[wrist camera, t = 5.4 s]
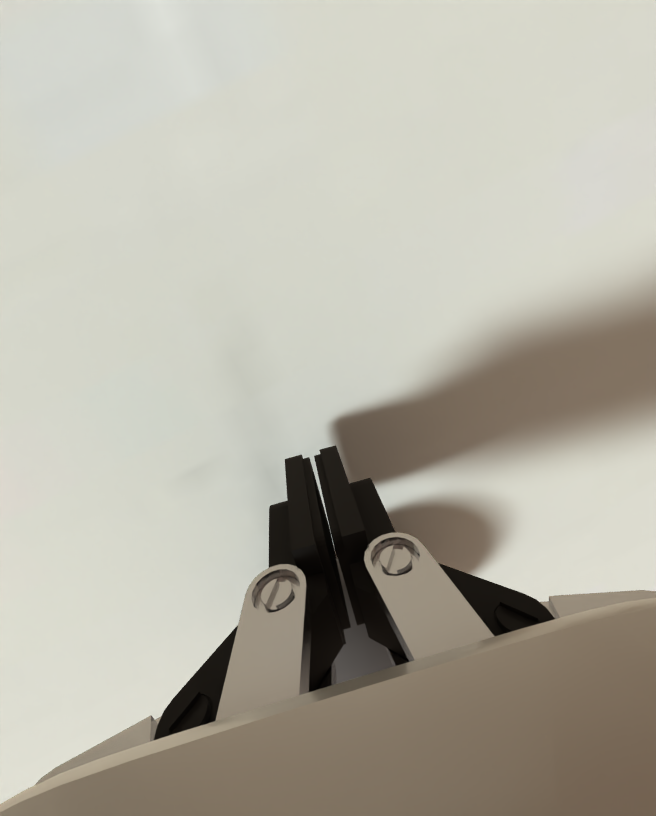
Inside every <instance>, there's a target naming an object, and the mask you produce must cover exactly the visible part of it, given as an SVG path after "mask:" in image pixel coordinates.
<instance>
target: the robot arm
mask: <svg viewBox="0 0 656 816" xmlns="http://www.w3.org/2000/svg"><path fill="white" fill-rule="evenodd" d="M320 453H321V454H319V455H316V456H314V457H315V462H316V466H317V471H318V475H319V480H320V485H321V489H322V494H323V498H324V503H325V507H326V512H327V516H328V521H329V525H328V521H327V518H326V514H325V511H324V507H323V504H322V500H321V497H320V493H319V490H318V486H317V483H316V479H315V476H314V472H313V469H312V465H311V462H310V459H309V457H308V458H305V459H303V457H302V455H299V456H295V457H291V458H288V459H285V469H286V483H287V498H288V501H285V502H281V503H278V504H274V505H271V506H270V508H269V568H268V569H266V570H264V571H262V572H261V573H260V574H259V575H258V576H257V577H255V578H254V580H253V581H252V582H251V584H250V585H249V587H248V589H247V592H246V594H245V599H244V603H243V607H242V611H241V615H240V620H239V624H238V626H237V627H236V628H235V629H234V630H233V631H232V632H231V634H230V635H229V636H228V637H227V638H226V639H225V640H224V641H223V643H222V644H221V645H220V646H219V647H218V648H217V649H216V651H215V652H214V653H213V654H212V655H211V656H210V657H209V659H208V660H207V661H206V662H205V663H204V664H203V665H202V667H201V668H200V669H199V670H198V671H197V672H196V673H195V674H194V676H193V677H192V678H191V679H190V680H189V681H188V682H187V684H186V685H185V686H184V687H183V688H182V689H181V690H180V692H179V693H178V694H177V695H176V696H175V697H174V698H173V700H172V701H171V702H170V704H169V705H168V706H167V708H166V709H165V711H164V712H163V714H162V716H161V717H159V718H157V719H155V720H154V718H153V717H152V716H149V717H147V718H146V719H144V720H142V721H140V722H138V723H136V724H135V725H133V726H131V727H129V728H127V729H125V730H124V731H122V732H120V733H118V734H116V735H114V736H113V737H111V738H109V739H107V740H105V741H103V742H102V743H100V744H98V745H96V746H94V747H93V748H91V749H89V750H87V751H85V752H83V753H82V754H80V755H78V756H76V757H74V758H72V759H71V760H69V761H67V762H65V763H63V764H61V765H60V766H58V767H56V768H55V769H53V770H52V771H50V772H49V773H48V774H46V775H45V776H43V777H42V778H41V779H40V780H39V781H38V782H37V783H36V784H35V785H34V786H33V787H30V788H28V789H26V790H24V791H22V792H21V793H19V794H17V795H15V796H14V797H12V798H10V799H8V800H7V801H5V802H3V803H1V804H0V816H656V591H646V590H636V591H621V592H605V593H589V594H573V595H558V596H549V601H548V602H539V601H537V600H536V599H534V598H532V597H530V596H528V595H526V594H523V593H520V592H518V591H515V590H512V589H509V588H506V587H504V586H501V585H498V584H495V583H492V582H489V581H487V580H484V579H481V578H478V577H475V576H473V575H470V574H467V573H464V572H461V571H459V570H456V569H453V568H450V567H447V566H444V565H442V564H439V563H437V562H436V560H435V559H434V558H433V557H432V555H431V554H430V553H429V551H428V550H427V549H426V548H425V546H424V545H423V544H422V543H421V542H420V541H419V540H418V539H417V538H415V537H413V536H411V535H409V534H405V533H400V532H398V533H396V532H395V530H394V528H393V526H392V524H391V522H390V519H389V517H388V515H387V513H386V511H385V508H384V506H383V504H382V502H381V500H380V497H379V495H378V493H377V491H376V489H375V486H374V484H373V482H372V480H371V478H368V479H364V480H361V481H357V482H353V483H350V484H349V482H348V479H347V476H346V473H345V471H344V468H343V465H342V462H341V459H340V456H339V453H338V450H337V448H336V446H332V447H328V448H324V449H321V450H320ZM329 526H330V529H329ZM330 530H331V533H330ZM331 534H332V538H331ZM332 539H333V542H334V546H335V550H336V553H337V557H338V560H339V564H340V567H341V571H342V574H343V578H344V581H345V585H346V588H347V592H348V595H349V599H350V602H351V606H352V609H353V613H354V616H355V620H356V623H357V626H358V625H361V624H364V623H365V626H366V629H367V633H368V637H369V638H371V639H372V640H374V641H376V642H378V643H380V644H381V645H383V646H385V647H386V650H387V653H388V656H389V659H390V661H391V663H392V665H393V667H391V668H388V669H384V670H381V671H378V672H374V673H371V674H368V675H364V676H361V677H358V678H354V679H351V680H348V681H345V682H341V683H338V684H337V679H336V666H335V661H334V660H335V658H336V657H337V655H338V653H339V652H340V650H341V648H342V647H343V645H344V644H346V640H345V635H344V629H348V628H351V625H350V621H349V616H348V611H347V607H346V602H345V598H344V593H343V588H342V584H341V579H340V574H339V570H338V565H337V561H336V556H335V551H334V547H333V542H332Z"/></svg>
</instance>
